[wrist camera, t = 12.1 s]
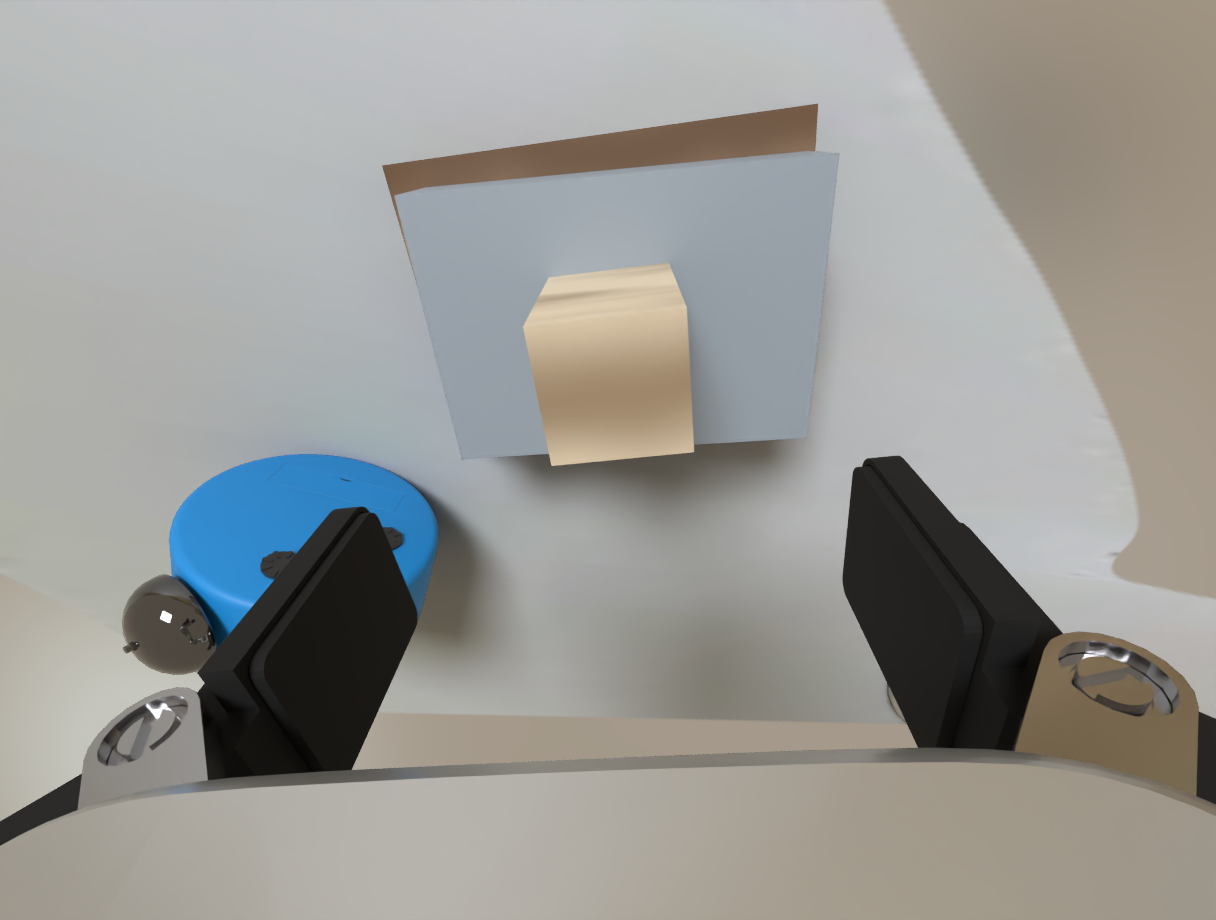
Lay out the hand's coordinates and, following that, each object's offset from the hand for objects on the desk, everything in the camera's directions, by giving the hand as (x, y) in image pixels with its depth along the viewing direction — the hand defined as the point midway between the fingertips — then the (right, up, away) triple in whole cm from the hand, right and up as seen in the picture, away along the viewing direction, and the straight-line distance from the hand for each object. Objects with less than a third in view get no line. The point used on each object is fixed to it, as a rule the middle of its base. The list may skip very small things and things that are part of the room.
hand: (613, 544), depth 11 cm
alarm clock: (-17, 0, +27) cm, 32 cm away
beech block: (0, +7, +13) cm, 15 cm away
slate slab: (+1, +9, +16) cm, 19 cm away
